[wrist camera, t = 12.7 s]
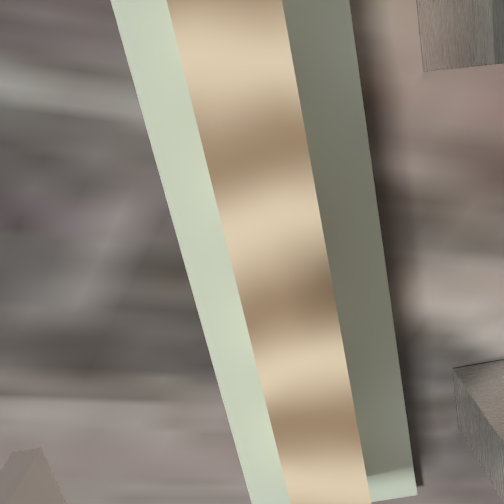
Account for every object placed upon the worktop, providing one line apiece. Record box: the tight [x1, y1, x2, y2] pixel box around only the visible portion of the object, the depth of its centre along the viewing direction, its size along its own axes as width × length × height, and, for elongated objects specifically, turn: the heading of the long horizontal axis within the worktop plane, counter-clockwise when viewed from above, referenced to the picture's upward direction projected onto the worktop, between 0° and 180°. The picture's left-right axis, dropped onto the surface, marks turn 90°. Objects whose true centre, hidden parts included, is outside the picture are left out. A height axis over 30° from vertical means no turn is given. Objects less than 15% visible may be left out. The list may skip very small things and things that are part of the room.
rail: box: [166, 0, 371, 504], centre depth 23 cm, size 28×4×4 cm, turn 12°
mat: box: [111, 0, 417, 504], centre depth 25 cm, size 32×10×1 cm, turn 12°
